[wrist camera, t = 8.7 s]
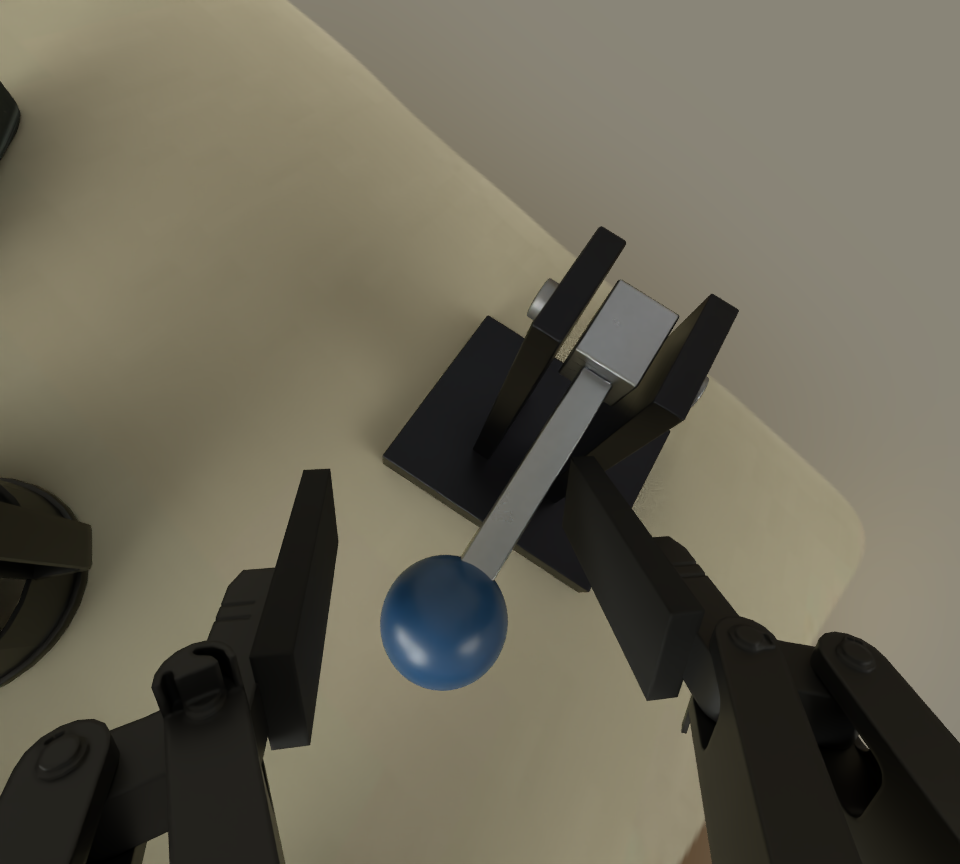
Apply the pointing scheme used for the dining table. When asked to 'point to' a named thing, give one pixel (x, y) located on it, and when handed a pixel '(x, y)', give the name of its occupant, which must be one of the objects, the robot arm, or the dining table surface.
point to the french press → (39, 571)
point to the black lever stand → (550, 409)
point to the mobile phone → (7, 119)
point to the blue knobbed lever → (516, 507)
